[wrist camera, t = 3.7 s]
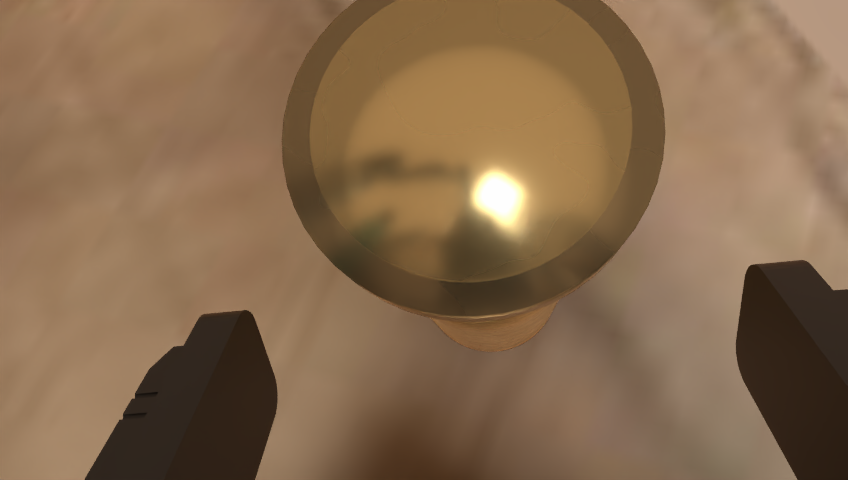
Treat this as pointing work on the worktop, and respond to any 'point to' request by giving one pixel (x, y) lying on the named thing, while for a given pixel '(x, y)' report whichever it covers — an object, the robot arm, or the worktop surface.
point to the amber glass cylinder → (474, 154)
